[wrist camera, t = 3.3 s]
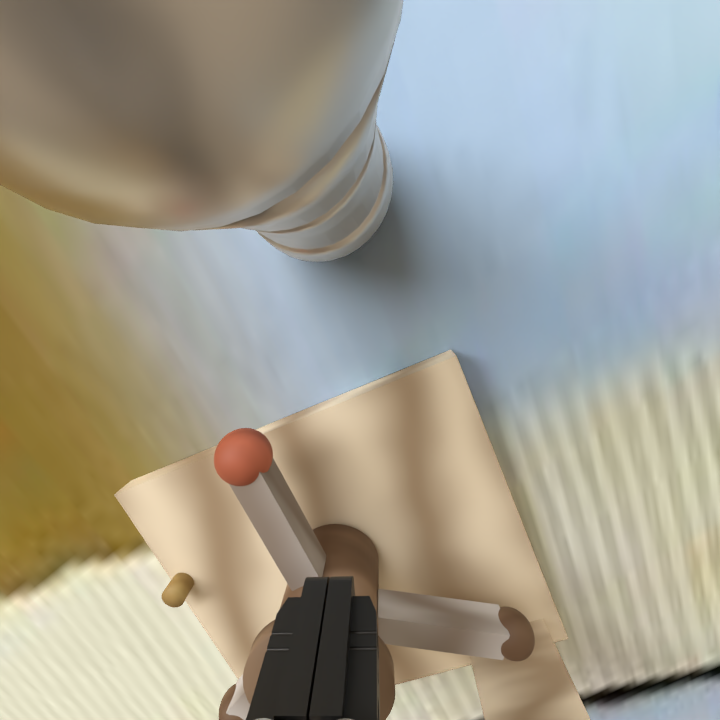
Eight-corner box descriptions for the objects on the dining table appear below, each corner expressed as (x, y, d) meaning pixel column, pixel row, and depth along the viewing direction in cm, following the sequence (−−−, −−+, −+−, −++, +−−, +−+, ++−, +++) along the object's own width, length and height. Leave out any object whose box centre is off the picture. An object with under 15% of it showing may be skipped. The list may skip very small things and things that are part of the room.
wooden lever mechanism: (450, 349, 19) (514, 417, 10) (557, 618, 23) (672, 842, 14) (131, 480, 23) (-40, 621, 13) (272, 696, 27) (215, 920, 17)
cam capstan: (410, 341, 18) (429, 381, 11) (515, 588, 21) (577, 733, 14) (119, 463, 20) (-6, 555, 14) (251, 665, 23) (201, 817, 17)
